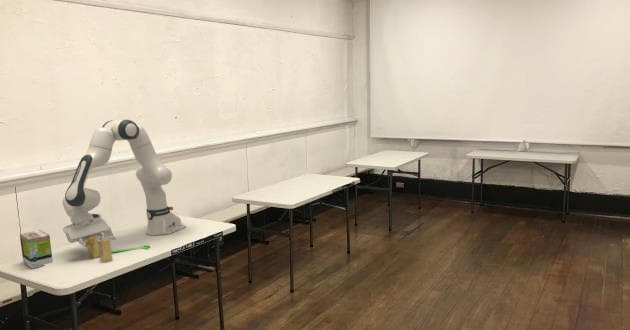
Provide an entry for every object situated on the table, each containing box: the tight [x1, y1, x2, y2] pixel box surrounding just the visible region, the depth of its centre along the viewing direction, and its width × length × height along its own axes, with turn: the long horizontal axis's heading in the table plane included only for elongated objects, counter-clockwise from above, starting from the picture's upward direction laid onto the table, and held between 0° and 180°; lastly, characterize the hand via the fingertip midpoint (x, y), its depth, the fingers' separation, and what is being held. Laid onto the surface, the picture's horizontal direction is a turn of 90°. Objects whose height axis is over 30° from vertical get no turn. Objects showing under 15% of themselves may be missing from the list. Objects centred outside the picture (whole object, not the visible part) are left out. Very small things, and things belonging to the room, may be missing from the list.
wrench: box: [111, 244, 151, 254], centre depth 260 cm, size 25×2×5 cm
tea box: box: [19, 229, 54, 269], centre depth 249 cm, size 15×10×15 cm
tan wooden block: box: [98, 239, 113, 263], centre depth 245 cm, size 4×4×10 cm
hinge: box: [82, 226, 116, 242], centre depth 279 cm, size 17×5×10 cm, turn 141°
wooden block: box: [84, 236, 100, 259], centre depth 251 cm, size 4×4×10 cm
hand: (94, 243), depth 251 cm, fingers open, 7 cm apart
